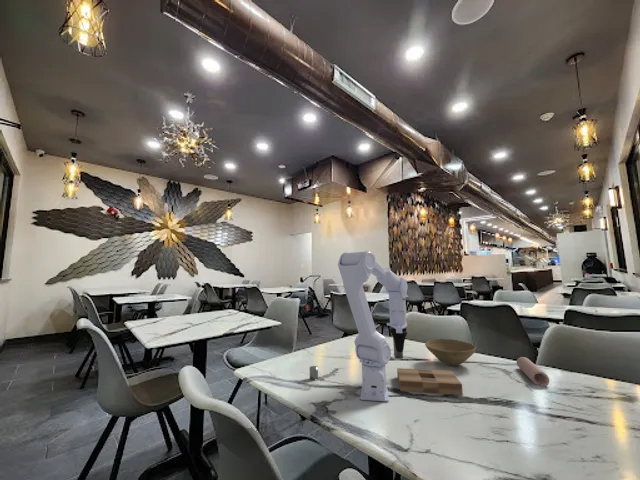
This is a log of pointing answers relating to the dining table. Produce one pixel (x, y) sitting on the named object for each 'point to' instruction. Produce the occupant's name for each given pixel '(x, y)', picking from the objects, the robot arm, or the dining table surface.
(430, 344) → the bowl
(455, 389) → the hole plate
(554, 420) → the dining table surface
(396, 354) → the tall pin
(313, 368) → the short pin
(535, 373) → the coil
